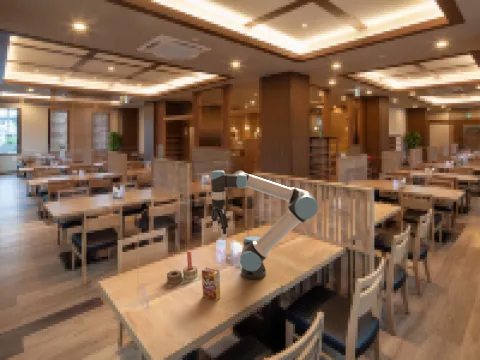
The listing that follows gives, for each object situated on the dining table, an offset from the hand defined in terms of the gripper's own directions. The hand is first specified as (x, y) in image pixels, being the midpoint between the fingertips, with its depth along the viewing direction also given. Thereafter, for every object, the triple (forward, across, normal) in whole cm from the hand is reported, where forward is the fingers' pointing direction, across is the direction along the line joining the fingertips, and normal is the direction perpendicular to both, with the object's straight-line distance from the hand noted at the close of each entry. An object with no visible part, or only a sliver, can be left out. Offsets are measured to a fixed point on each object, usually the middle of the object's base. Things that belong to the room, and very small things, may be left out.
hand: (219, 235), depth 165 cm
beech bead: (+28, -15, -14) cm, 35 cm away
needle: (+28, -15, -14) cm, 35 cm away
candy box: (+29, +12, -10) cm, 33 cm away
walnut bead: (+28, -13, -24) cm, 39 cm away
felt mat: (+29, -14, -19) cm, 37 cm away
